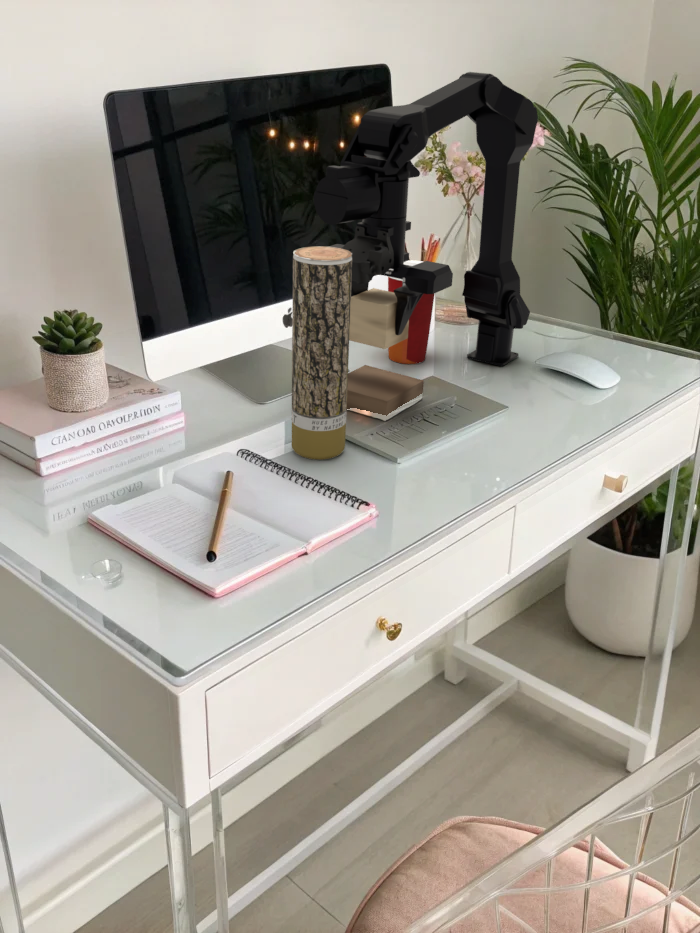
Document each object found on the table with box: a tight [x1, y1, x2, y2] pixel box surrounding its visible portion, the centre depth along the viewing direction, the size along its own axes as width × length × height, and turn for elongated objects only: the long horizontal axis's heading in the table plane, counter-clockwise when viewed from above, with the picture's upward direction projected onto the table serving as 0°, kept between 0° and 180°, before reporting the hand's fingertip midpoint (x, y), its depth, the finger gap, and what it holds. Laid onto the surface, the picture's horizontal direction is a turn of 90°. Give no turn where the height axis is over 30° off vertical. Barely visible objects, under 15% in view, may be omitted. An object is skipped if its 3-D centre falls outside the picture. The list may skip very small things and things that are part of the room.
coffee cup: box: [387, 259, 436, 365], centre depth 145 cm, size 8×8×15 cm
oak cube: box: [349, 287, 409, 350], centre depth 126 cm, size 6×6×6 cm
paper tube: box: [291, 245, 352, 461], centre depth 111 cm, size 7×7×25 cm
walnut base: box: [347, 364, 425, 416], centre depth 131 cm, size 10×10×3 cm
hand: (378, 329), depth 127 cm, fingers closed on oak cube, 6 cm apart
